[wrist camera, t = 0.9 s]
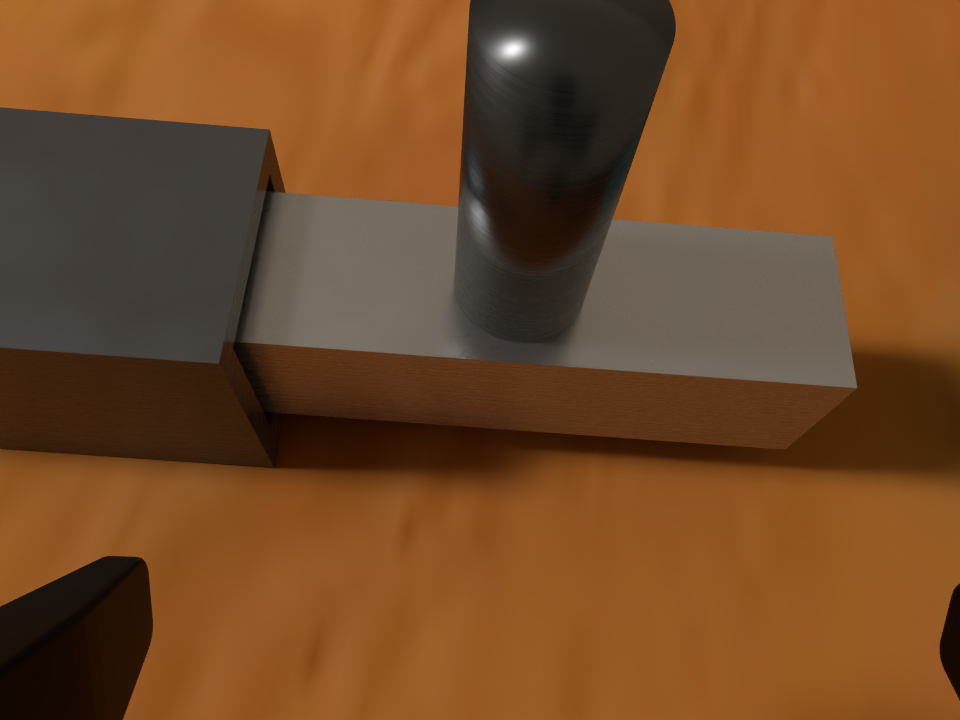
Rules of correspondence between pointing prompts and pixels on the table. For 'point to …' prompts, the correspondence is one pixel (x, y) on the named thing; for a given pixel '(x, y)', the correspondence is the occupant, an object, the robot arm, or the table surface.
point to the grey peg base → (546, 270)
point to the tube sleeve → (129, 287)
